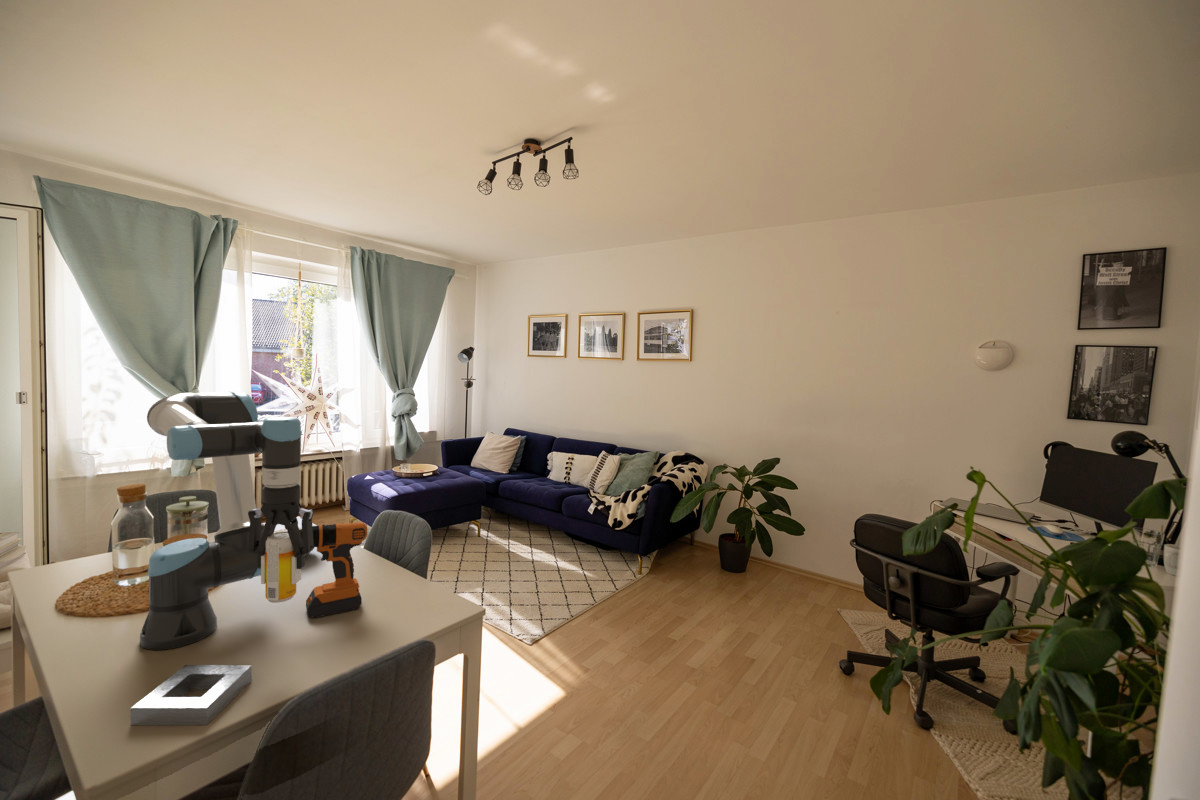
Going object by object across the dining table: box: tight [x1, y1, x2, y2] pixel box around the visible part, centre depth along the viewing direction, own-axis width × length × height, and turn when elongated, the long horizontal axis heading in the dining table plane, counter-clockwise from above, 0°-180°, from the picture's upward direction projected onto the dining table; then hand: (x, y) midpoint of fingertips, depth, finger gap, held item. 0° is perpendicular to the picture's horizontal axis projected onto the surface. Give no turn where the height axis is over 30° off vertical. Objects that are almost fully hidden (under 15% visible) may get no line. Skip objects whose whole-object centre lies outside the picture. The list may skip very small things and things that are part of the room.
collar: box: [130, 664, 253, 726], centre depth 105 cm, size 14×14×4 cm
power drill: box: [300, 521, 368, 619], centre depth 143 cm, size 22×7×25 cm, turn 123°
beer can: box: [265, 532, 297, 604], centre depth 118 cm, size 6×6×15 cm
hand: (281, 581), depth 118 cm, fingers closed on beer can, 6 cm apart
